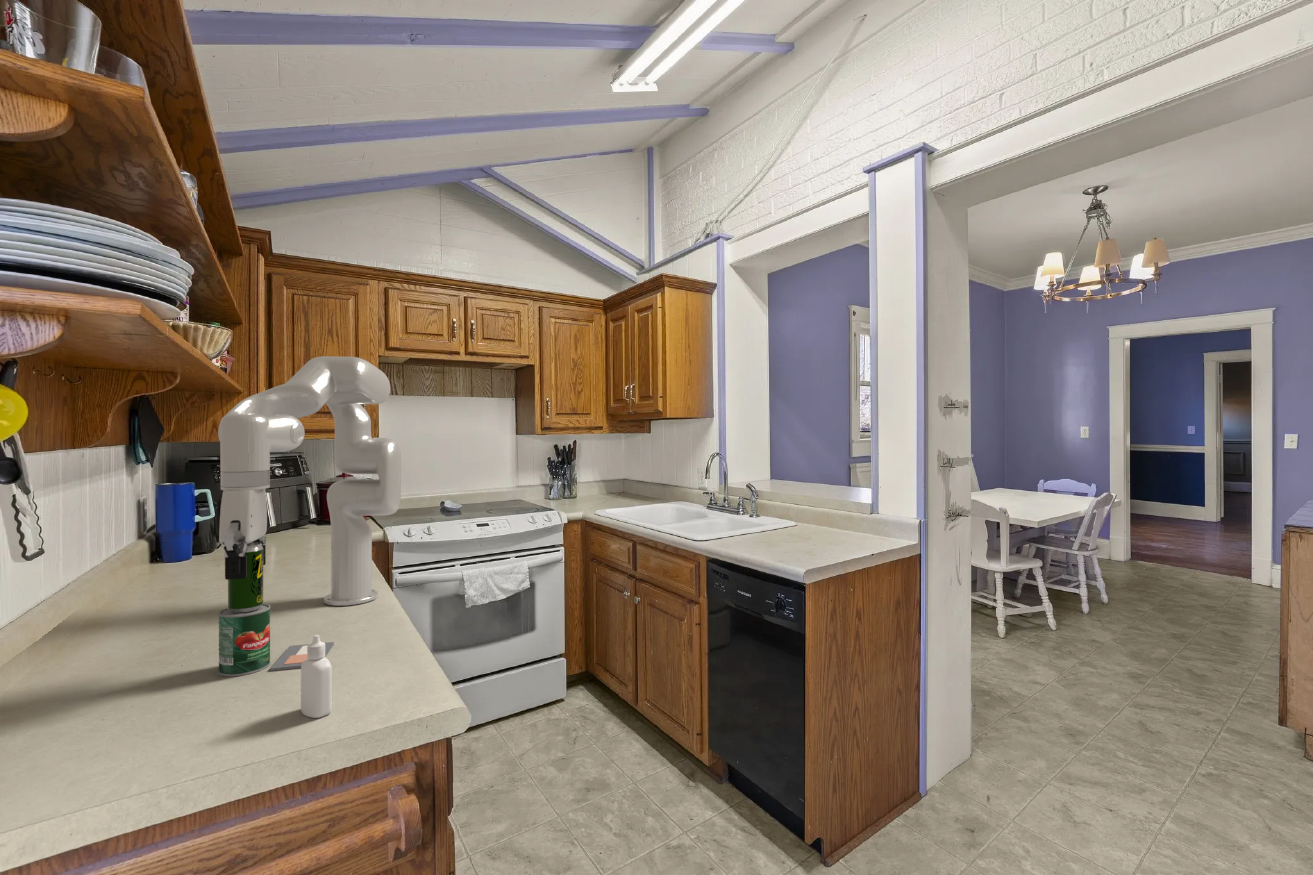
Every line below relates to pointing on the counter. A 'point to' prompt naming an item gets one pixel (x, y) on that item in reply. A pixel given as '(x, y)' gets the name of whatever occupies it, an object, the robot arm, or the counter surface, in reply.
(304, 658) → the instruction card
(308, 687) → the eye dropper bottle
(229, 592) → the beer can
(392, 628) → the counter surface
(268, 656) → the canned tomato
